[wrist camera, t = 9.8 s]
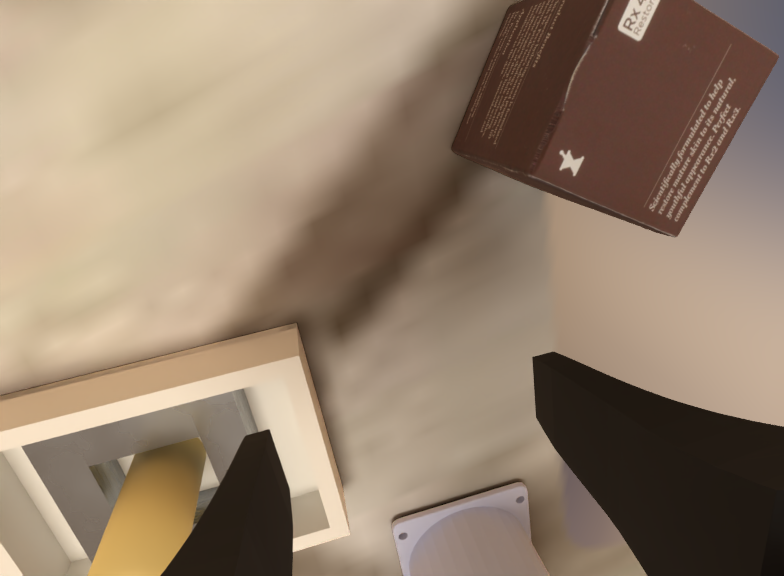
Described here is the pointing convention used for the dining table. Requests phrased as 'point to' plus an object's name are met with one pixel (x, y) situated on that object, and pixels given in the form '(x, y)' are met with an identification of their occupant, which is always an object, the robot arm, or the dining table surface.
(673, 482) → the robot arm
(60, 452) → the socket plate
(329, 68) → the dining table surface
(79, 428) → the tray
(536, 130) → the box
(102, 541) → the peg
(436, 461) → the dining table surface
